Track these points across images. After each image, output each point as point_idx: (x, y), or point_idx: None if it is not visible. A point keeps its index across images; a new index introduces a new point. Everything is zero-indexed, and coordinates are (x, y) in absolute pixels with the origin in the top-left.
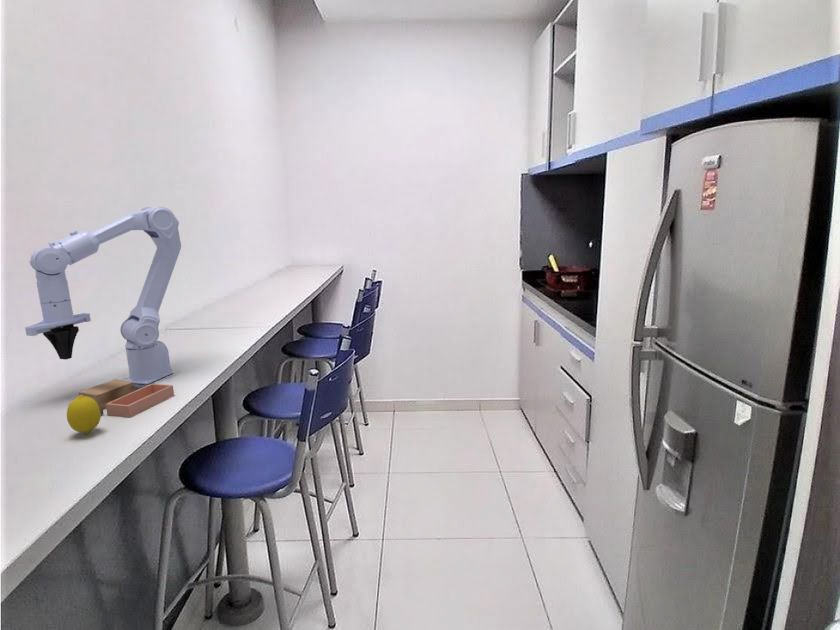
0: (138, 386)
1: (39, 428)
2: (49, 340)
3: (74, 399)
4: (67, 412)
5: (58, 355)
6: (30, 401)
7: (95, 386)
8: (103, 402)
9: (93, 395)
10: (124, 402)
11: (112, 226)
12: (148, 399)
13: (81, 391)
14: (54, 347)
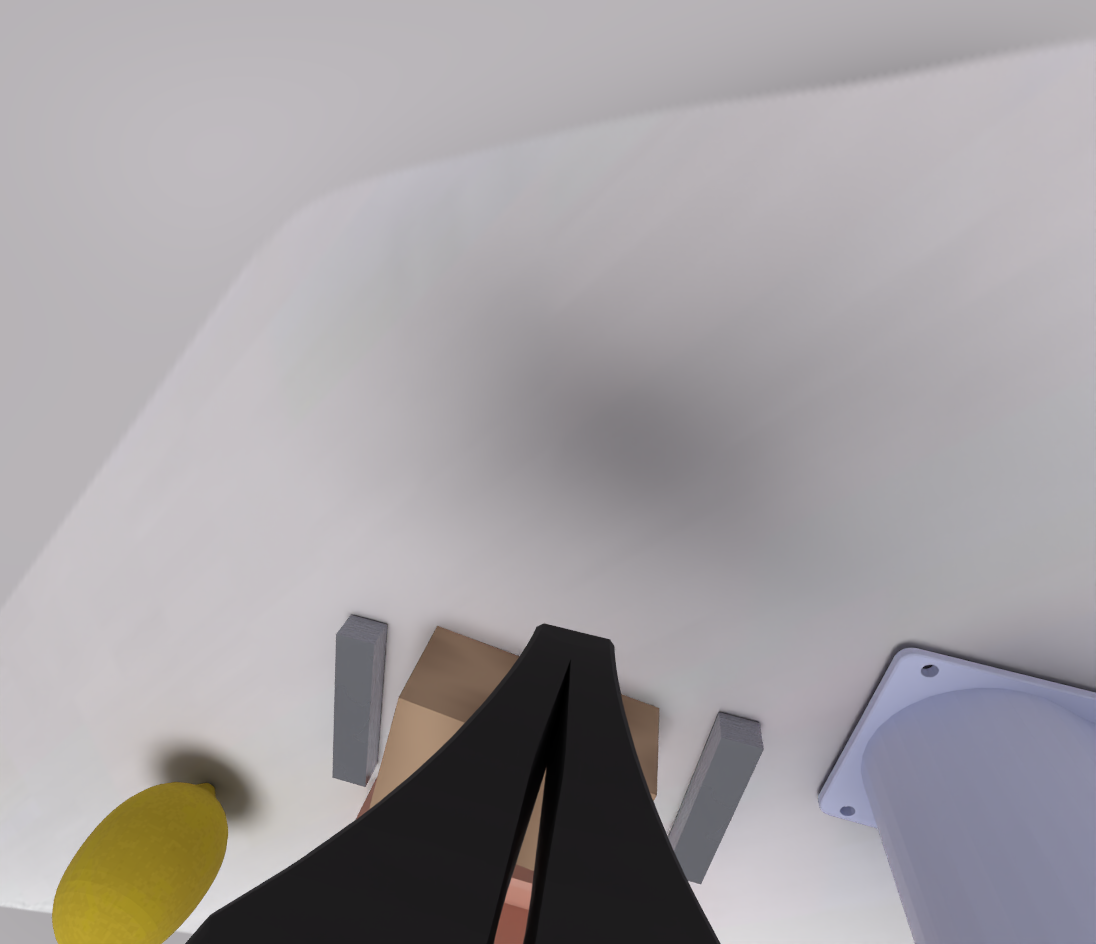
0: (703, 819)
1: (185, 585)
2: (357, 829)
3: (61, 933)
4: (70, 863)
5: (526, 647)
6: (509, 184)
7: None
8: None
9: (375, 788)
10: None
11: None
12: None
13: (411, 710)
14: (463, 730)
